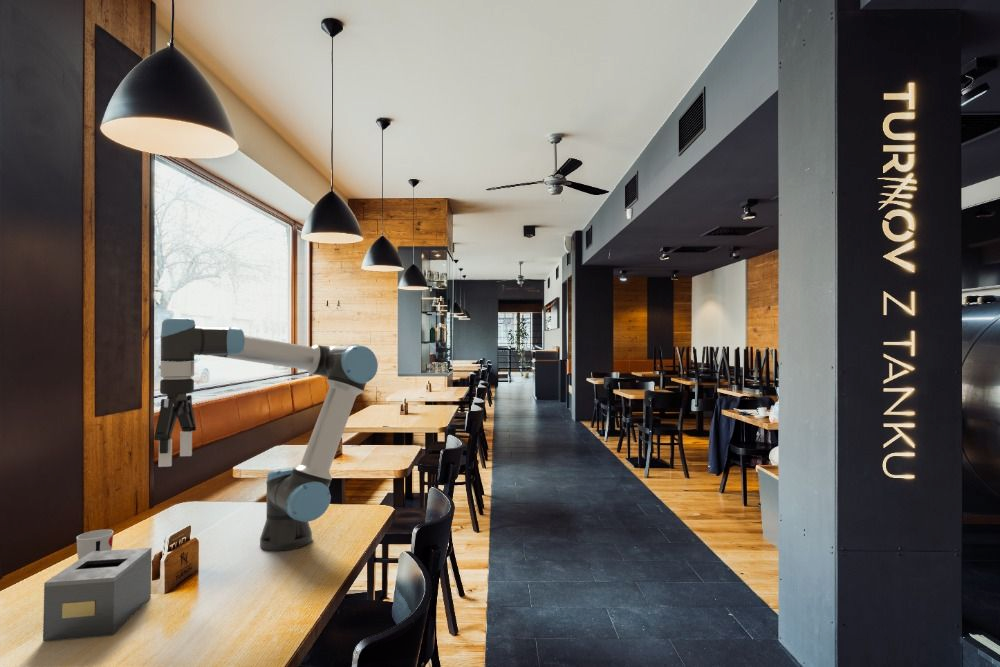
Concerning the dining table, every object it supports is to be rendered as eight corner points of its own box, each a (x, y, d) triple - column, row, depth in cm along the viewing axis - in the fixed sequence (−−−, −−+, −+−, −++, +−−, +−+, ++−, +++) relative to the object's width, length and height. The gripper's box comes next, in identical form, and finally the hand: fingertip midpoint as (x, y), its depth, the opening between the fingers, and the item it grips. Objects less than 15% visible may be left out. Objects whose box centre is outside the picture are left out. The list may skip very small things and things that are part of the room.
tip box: (150, 597, 133) (151, 547, 133) (112, 635, 115) (113, 577, 115) (90, 602, 130) (91, 551, 131) (42, 642, 112) (43, 583, 113)
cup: (92, 578, 144) (93, 540, 144) (67, 576, 146) (68, 538, 146) (120, 566, 152) (120, 530, 152) (95, 564, 154) (96, 528, 154)
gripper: (180, 376, 153) (178, 452, 152) (139, 380, 128) (137, 472, 127) (209, 376, 154) (208, 451, 153) (174, 380, 129) (172, 470, 129)
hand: (175, 461), depth 140 cm, fingers open, 13 cm apart
